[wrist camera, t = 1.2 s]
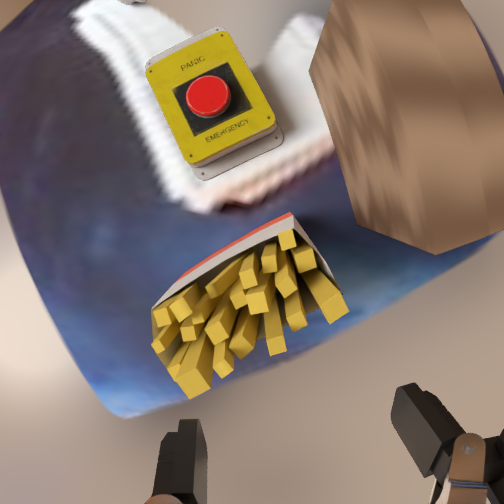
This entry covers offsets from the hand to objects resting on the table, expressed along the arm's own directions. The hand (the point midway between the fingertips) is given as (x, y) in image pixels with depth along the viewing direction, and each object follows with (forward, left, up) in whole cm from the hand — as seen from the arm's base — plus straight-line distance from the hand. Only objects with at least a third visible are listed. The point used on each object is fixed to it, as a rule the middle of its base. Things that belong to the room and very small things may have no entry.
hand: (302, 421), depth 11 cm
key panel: (-11, +13, -21) cm, 27 cm away
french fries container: (-3, -2, -21) cm, 21 cm away
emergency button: (-20, -2, -22) cm, 29 cm away
